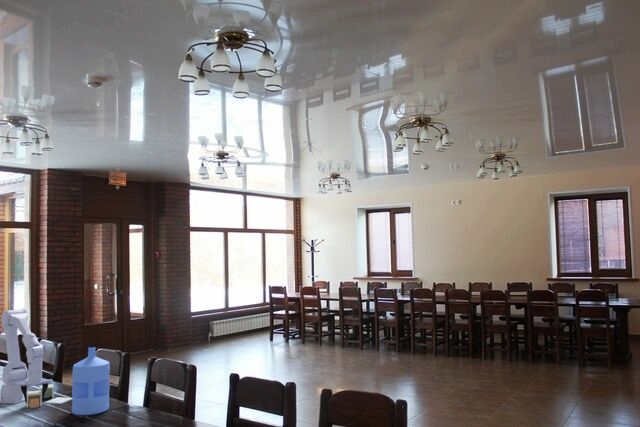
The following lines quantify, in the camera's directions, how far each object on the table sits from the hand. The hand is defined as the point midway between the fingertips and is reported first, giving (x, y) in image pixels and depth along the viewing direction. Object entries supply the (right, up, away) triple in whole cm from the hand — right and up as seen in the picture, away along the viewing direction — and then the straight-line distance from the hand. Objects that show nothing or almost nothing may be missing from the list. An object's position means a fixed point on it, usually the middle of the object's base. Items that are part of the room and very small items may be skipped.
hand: (34, 401), depth 246 cm
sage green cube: (-1, -3, +13) cm, 14 cm away
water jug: (+30, -2, -8) cm, 31 cm away
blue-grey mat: (+7, -3, +8) cm, 12 cm away
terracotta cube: (0, -2, 0) cm, 2 cm away
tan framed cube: (0, -2, 0) cm, 2 cm away
